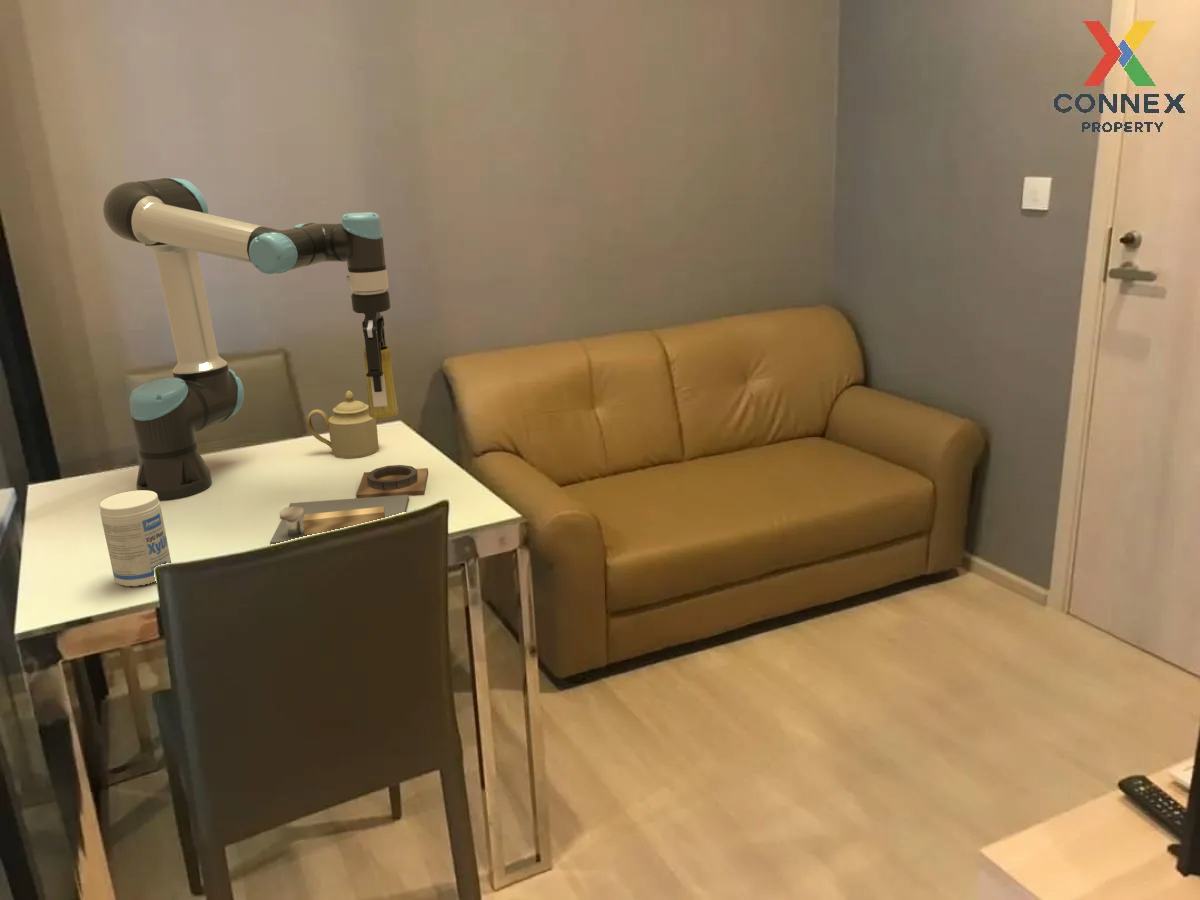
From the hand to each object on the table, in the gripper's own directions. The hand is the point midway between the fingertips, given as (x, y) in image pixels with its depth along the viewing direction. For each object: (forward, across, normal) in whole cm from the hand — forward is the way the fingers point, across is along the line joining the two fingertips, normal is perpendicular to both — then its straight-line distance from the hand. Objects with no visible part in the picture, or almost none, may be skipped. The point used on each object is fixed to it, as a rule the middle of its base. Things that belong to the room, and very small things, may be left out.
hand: (382, 401), depth 210 cm
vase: (+3, 0, 0) cm, 3 cm away
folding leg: (+18, +25, -8) cm, 32 cm away
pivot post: (+19, +26, -16) cm, 35 cm away
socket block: (+19, 0, 0) cm, 19 cm away
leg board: (+19, +19, -8) cm, 28 cm away
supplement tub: (+19, +38, -39) cm, 58 cm away
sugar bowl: (+19, -25, -13) cm, 34 cm away
